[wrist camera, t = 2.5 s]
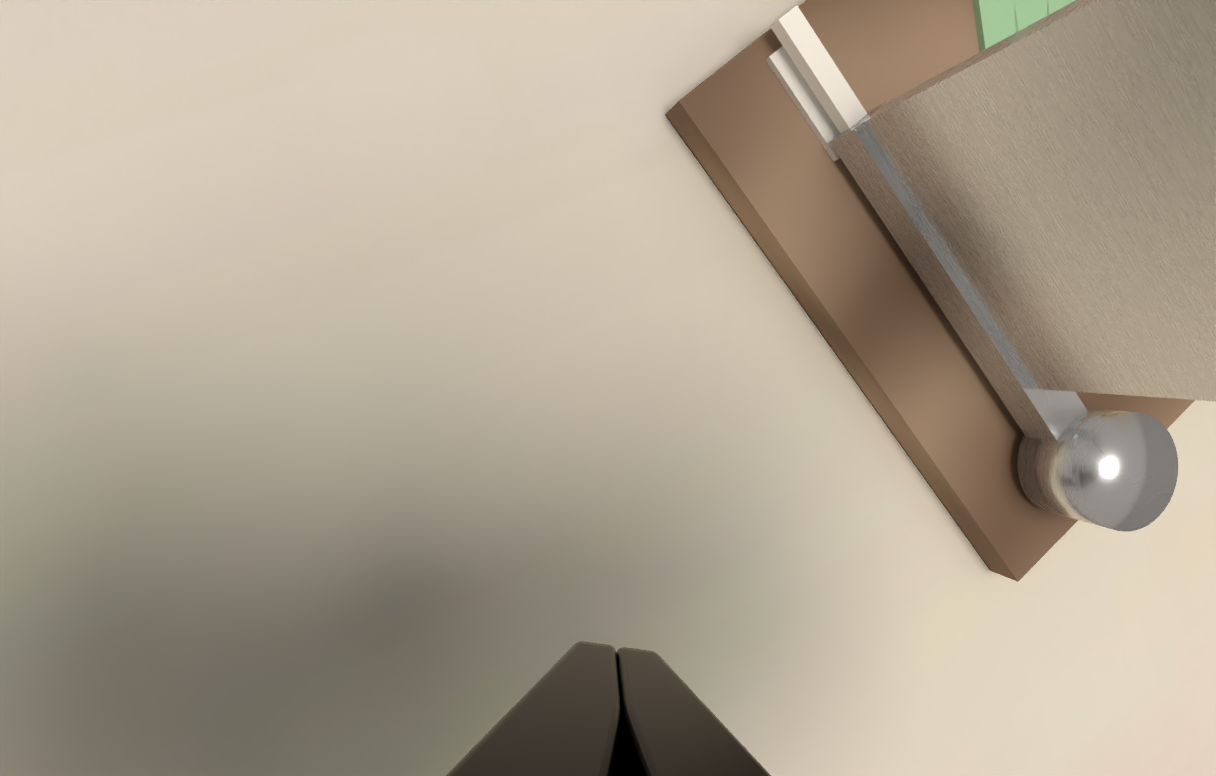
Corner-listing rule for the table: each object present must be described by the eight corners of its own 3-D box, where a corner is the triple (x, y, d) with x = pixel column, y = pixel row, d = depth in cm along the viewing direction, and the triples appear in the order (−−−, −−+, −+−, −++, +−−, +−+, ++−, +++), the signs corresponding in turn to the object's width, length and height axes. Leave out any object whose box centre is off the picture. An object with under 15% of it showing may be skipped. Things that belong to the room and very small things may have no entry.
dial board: (1281, 276, 23) (1326, 272, 22) (991, 570, 21) (1024, 583, 20) (1035, -178, 20) (1073, -211, 19) (665, 114, 18) (681, 98, 17)
